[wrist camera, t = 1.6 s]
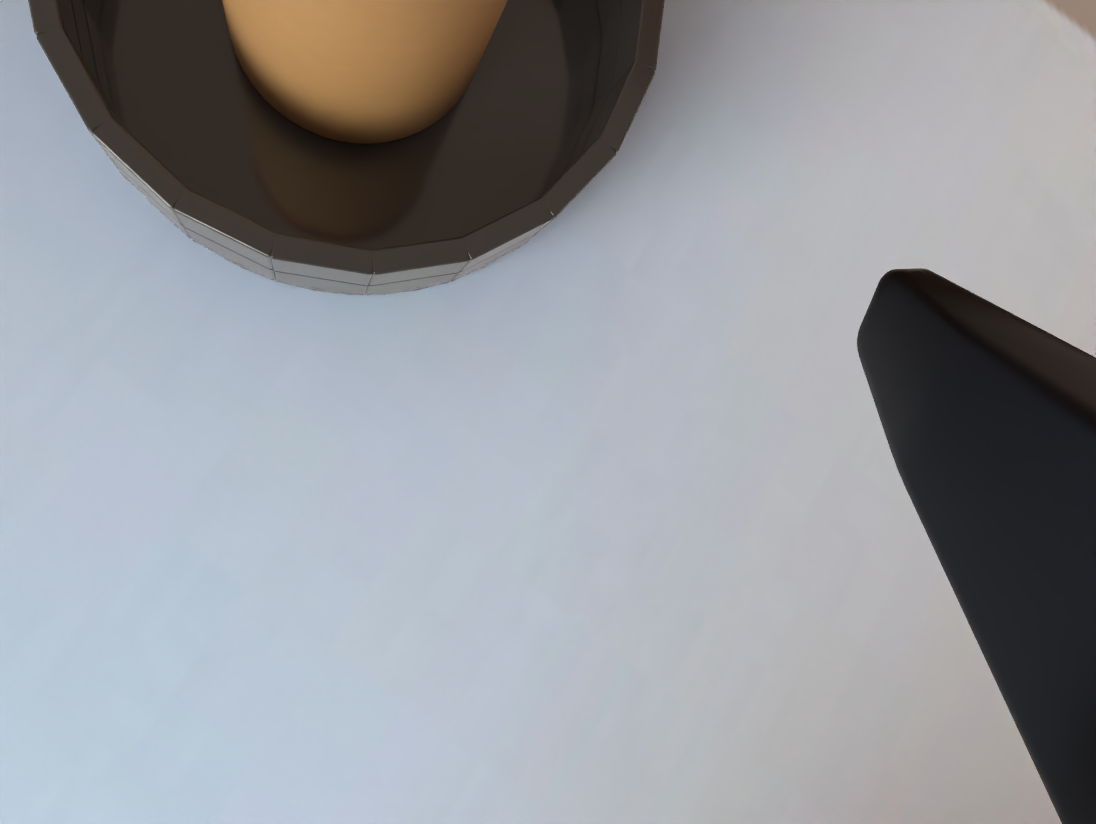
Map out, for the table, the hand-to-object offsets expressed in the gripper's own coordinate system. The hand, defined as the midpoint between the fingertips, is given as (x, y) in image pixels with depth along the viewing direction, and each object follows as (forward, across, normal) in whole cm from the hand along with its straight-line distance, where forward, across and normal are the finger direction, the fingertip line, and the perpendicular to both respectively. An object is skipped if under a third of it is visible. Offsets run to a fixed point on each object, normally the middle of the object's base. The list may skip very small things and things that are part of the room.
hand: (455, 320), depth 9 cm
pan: (+15, 0, +4) cm, 16 cm away
